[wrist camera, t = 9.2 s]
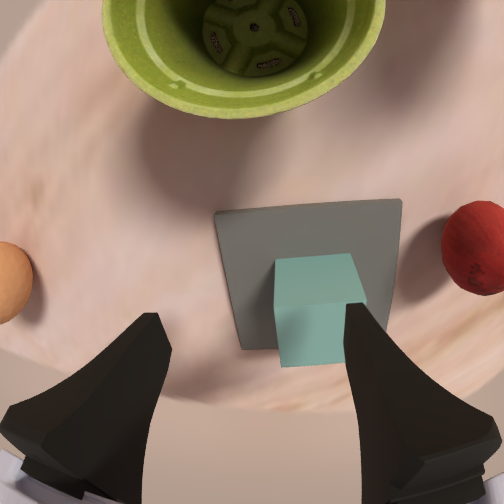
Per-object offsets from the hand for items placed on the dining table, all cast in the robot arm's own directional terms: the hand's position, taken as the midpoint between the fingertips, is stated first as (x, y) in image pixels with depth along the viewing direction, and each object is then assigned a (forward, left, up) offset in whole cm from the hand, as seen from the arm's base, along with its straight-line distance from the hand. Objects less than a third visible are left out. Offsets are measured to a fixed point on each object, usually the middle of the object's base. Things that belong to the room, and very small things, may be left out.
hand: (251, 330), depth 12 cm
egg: (-1, +23, -10) cm, 25 cm away
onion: (-1, -14, -10) cm, 17 cm away
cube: (-5, -3, -9) cm, 11 cm away
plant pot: (+12, -1, -10) cm, 16 cm away
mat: (-5, -3, -10) cm, 11 cm away
